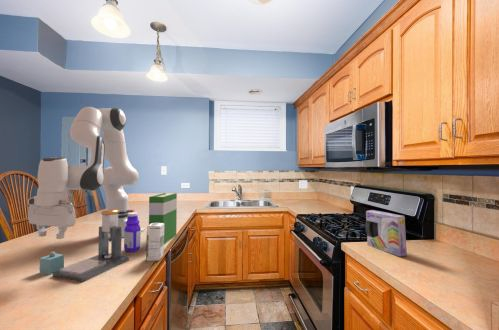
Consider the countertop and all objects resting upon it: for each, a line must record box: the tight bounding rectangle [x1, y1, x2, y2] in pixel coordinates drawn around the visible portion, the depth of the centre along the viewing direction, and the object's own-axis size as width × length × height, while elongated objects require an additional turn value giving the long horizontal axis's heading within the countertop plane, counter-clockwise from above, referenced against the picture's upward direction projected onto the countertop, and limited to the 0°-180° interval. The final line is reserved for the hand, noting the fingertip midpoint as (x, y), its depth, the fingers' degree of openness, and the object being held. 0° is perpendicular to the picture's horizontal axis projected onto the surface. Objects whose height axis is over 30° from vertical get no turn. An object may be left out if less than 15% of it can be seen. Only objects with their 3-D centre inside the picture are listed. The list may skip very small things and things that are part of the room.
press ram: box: [100, 209, 119, 242], centre depth 97 cm, size 6×6×12 cm
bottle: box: [123, 211, 142, 253], centre depth 110 cm, size 7×6×17 cm
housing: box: [39, 251, 65, 276], centre depth 87 cm, size 5×5×7 cm
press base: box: [52, 225, 130, 283], centre depth 90 cm, size 20×14×14 cm
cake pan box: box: [365, 209, 408, 257], centre depth 111 cm, size 19×5×18 cm, turn 18°
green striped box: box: [148, 192, 178, 245], centre depth 127 cm, size 18×7×24 cm, turn 176°
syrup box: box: [145, 223, 165, 262], centre depth 100 cm, size 6×6×14 cm
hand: (51, 237), depth 87 cm, fingers open, 8 cm apart
